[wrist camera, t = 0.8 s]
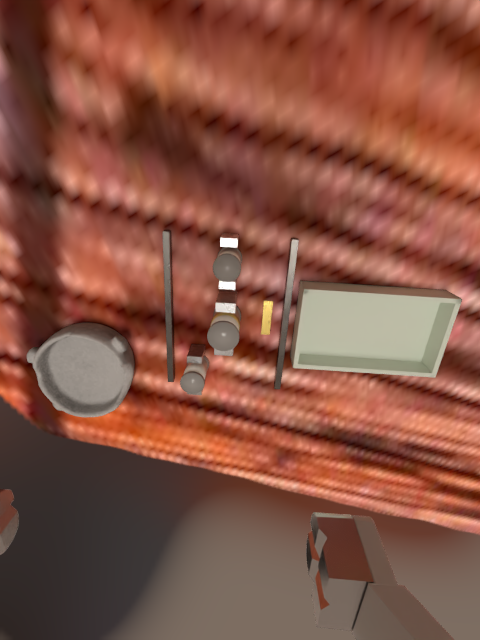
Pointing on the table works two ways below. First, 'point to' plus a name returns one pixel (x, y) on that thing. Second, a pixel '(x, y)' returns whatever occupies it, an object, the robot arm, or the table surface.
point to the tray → (372, 328)
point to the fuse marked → (224, 330)
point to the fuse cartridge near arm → (228, 264)
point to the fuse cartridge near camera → (194, 376)
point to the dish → (84, 369)
